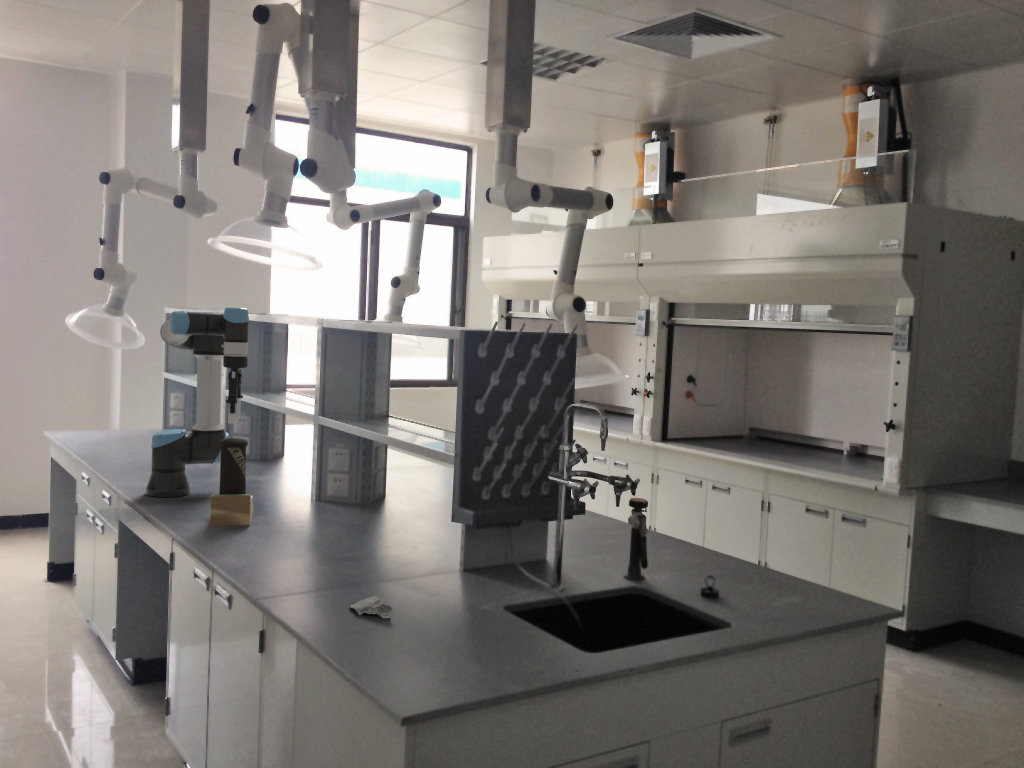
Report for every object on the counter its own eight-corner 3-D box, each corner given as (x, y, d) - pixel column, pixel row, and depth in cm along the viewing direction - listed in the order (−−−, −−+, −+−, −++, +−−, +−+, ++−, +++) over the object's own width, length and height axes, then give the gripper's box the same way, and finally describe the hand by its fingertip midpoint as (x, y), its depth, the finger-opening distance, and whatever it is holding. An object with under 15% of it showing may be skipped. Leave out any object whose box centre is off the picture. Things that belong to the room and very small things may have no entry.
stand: (215, 513, 300) (216, 484, 299) (253, 513, 303) (253, 484, 302) (210, 525, 283) (211, 495, 283) (249, 525, 286) (250, 495, 285)
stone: (367, 626, 201) (368, 608, 200) (346, 608, 211) (347, 591, 210) (393, 622, 204) (394, 604, 204) (371, 605, 214) (372, 588, 214)
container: (238, 502, 286) (239, 441, 285) (212, 500, 288) (214, 439, 287) (251, 497, 295) (252, 437, 293) (226, 495, 296) (227, 435, 295)
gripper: (226, 353, 299) (225, 415, 301) (219, 357, 275) (218, 425, 277) (250, 353, 301) (248, 416, 303) (244, 357, 277) (243, 425, 279)
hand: (234, 420), depth 290 cm, fingers open, 13 cm apart
